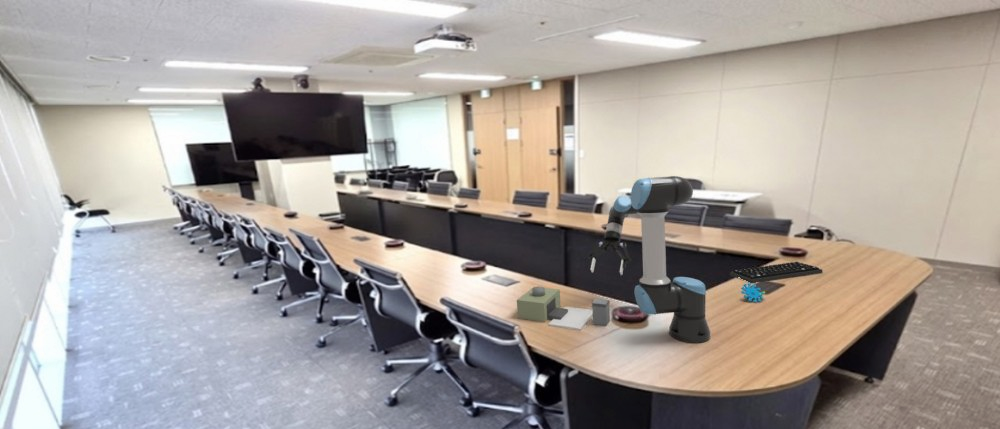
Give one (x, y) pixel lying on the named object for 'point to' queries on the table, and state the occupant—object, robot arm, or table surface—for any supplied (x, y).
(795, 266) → the computer keyboard
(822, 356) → the table surface
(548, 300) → the green knobbed box
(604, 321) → the gray lidded box
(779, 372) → the table surface
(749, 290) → the blue virus model
